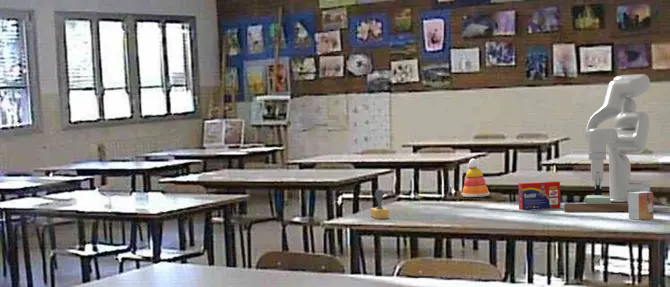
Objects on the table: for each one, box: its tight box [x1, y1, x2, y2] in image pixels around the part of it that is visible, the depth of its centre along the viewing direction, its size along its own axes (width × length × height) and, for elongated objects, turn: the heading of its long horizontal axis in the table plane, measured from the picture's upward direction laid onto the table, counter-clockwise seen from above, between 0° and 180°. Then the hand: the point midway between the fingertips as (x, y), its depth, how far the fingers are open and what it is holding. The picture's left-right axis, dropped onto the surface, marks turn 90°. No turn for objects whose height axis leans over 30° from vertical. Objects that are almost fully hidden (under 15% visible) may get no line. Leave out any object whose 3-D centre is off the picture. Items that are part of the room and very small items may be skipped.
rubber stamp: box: [370, 188, 390, 220], centre depth 415 cm, size 10×6×12 cm, turn 10°
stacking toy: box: [461, 158, 491, 198], centre depth 495 cm, size 14×14×20 cm
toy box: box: [518, 181, 562, 211], centre depth 430 cm, size 18×4×12 cm, turn 104°
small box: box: [628, 191, 654, 221], centre depth 382 cm, size 8×6×10 cm
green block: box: [585, 194, 612, 203], centre depth 424 cm, size 12×10×6 cm
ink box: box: [626, 179, 651, 203], centre depth 425 cm, size 8×5×12 cm, turn 39°
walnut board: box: [563, 202, 629, 213], centre depth 412 cm, size 2×28×4 cm, turn 75°
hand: (598, 197), depth 435 cm, fingers closed
